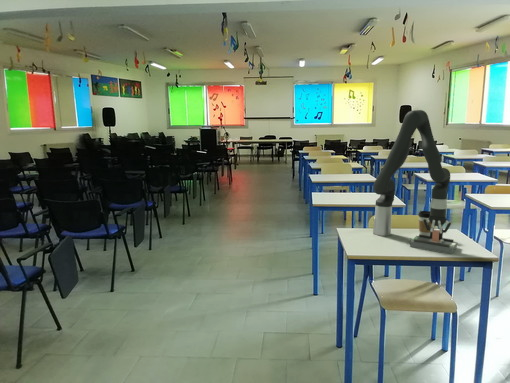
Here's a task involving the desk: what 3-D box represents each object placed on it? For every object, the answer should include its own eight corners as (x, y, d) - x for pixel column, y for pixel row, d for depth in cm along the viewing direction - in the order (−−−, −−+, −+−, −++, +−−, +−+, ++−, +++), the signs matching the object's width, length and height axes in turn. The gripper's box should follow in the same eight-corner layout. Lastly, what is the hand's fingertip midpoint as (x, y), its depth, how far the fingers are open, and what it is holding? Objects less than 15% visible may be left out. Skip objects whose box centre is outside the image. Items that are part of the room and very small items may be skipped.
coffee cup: (425, 240, 214) (426, 214, 212) (413, 236, 222) (415, 210, 219) (436, 238, 217) (438, 212, 215) (424, 234, 225) (426, 209, 222)
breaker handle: (428, 242, 200) (428, 231, 199) (431, 238, 206) (432, 228, 205) (440, 244, 197) (441, 233, 196) (443, 240, 202) (444, 230, 201)
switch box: (410, 246, 204) (410, 239, 203) (416, 241, 213) (416, 233, 212) (451, 254, 192) (452, 246, 191) (456, 247, 201) (457, 239, 200)
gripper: (422, 206, 199) (420, 238, 202) (451, 210, 191) (449, 243, 194) (425, 204, 205) (423, 235, 208) (455, 207, 196) (452, 239, 200)
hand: (436, 238), depth 201 cm, fingers closed on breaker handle, 3 cm apart
